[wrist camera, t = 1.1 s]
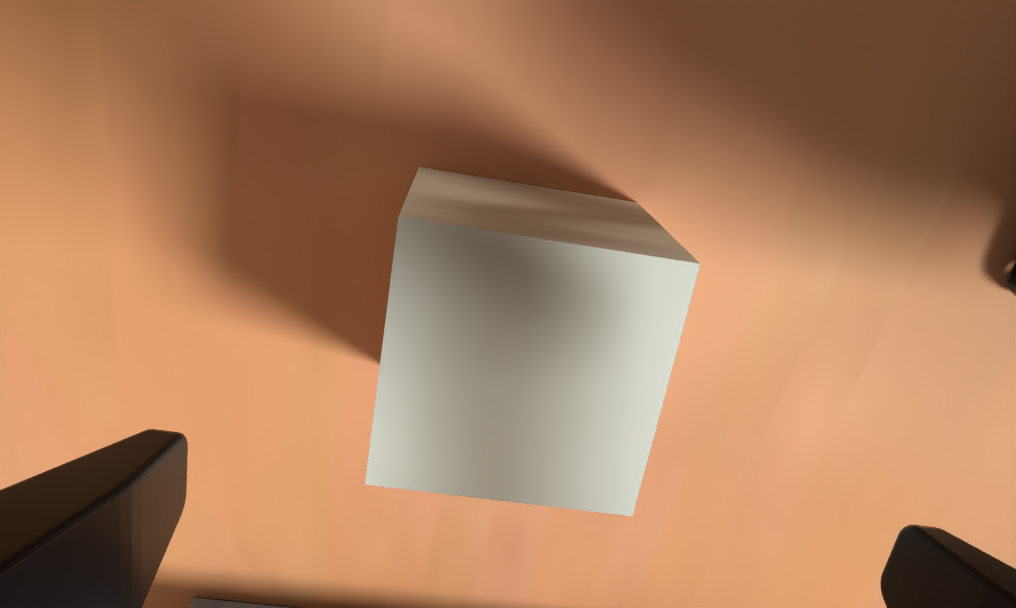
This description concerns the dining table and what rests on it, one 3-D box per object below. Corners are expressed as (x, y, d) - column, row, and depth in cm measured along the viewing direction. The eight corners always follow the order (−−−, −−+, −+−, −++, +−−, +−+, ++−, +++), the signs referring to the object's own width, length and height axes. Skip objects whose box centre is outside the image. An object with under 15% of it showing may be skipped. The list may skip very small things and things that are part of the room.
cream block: (636, 201, 17) (700, 263, 12) (591, 395, 18) (632, 515, 14) (419, 166, 16) (398, 216, 12) (393, 368, 18) (364, 484, 13)
